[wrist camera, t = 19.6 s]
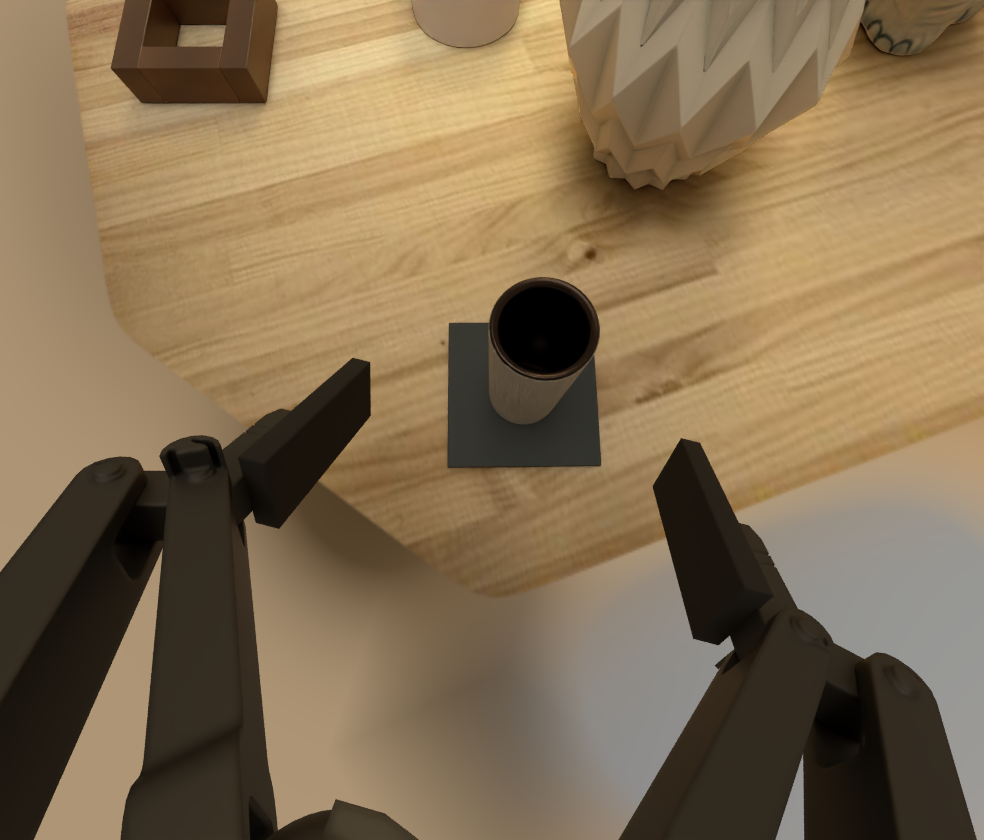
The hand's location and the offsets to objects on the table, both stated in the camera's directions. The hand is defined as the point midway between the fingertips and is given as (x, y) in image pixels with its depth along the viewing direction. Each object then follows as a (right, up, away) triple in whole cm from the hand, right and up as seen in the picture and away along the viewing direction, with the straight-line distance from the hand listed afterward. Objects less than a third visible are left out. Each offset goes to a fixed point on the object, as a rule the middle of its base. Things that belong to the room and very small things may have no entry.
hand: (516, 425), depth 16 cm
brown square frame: (-24, +30, +15) cm, 41 cm away
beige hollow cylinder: (+1, +2, +10) cm, 10 cm away
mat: (+1, +2, +10) cm, 10 cm away
